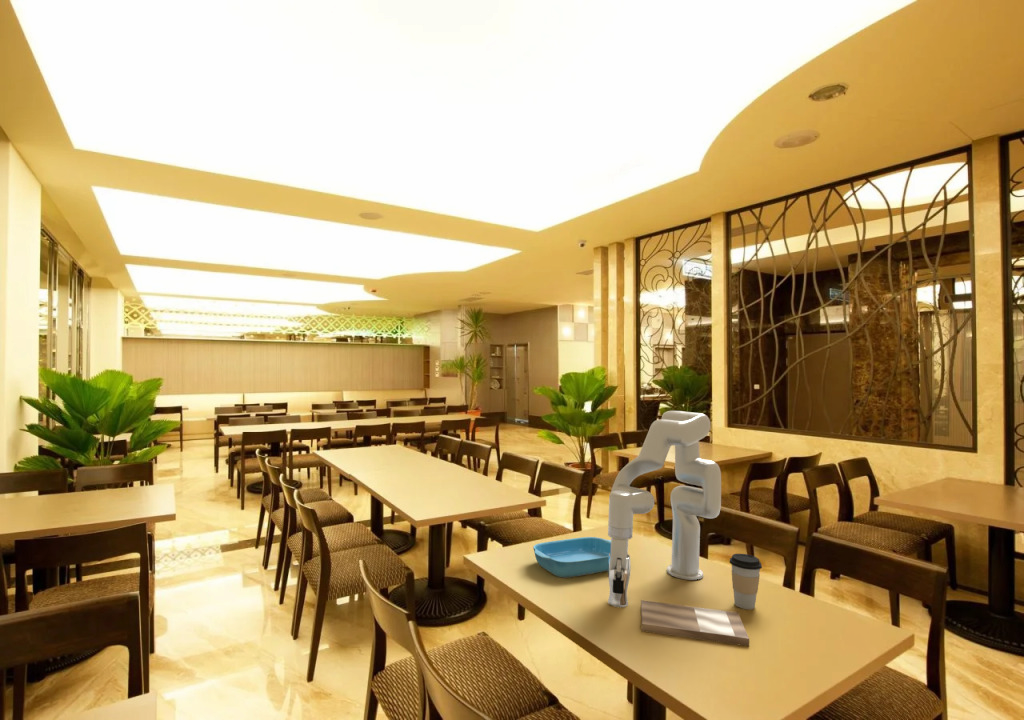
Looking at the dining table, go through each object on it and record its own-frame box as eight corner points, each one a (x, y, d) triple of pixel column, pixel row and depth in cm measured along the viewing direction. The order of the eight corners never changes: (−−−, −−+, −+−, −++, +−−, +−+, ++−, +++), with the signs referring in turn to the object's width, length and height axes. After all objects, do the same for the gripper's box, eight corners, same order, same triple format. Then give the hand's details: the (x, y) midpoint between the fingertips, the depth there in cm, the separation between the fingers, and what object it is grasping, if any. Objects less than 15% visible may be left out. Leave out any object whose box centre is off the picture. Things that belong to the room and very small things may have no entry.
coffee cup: (760, 602, 169) (761, 555, 170) (761, 614, 161) (762, 565, 161) (729, 596, 173) (730, 550, 173) (727, 607, 165) (728, 559, 165)
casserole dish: (599, 550, 215) (599, 532, 215) (637, 569, 195) (637, 550, 195) (521, 563, 197) (521, 544, 197) (554, 586, 177) (555, 564, 177)
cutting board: (641, 606, 163) (641, 599, 163) (737, 619, 157) (737, 612, 157) (641, 630, 148) (642, 623, 148) (749, 646, 142) (749, 638, 142)
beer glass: (629, 609, 161) (631, 560, 161) (606, 606, 162) (608, 557, 163) (629, 600, 168) (630, 552, 168) (606, 597, 169) (608, 550, 169)
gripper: (609, 522, 175) (607, 575, 174) (606, 538, 158) (604, 597, 157) (632, 524, 173) (630, 578, 173) (632, 541, 156) (630, 600, 156)
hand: (618, 587), depth 165 cm, fingers open, 8 cm apart
